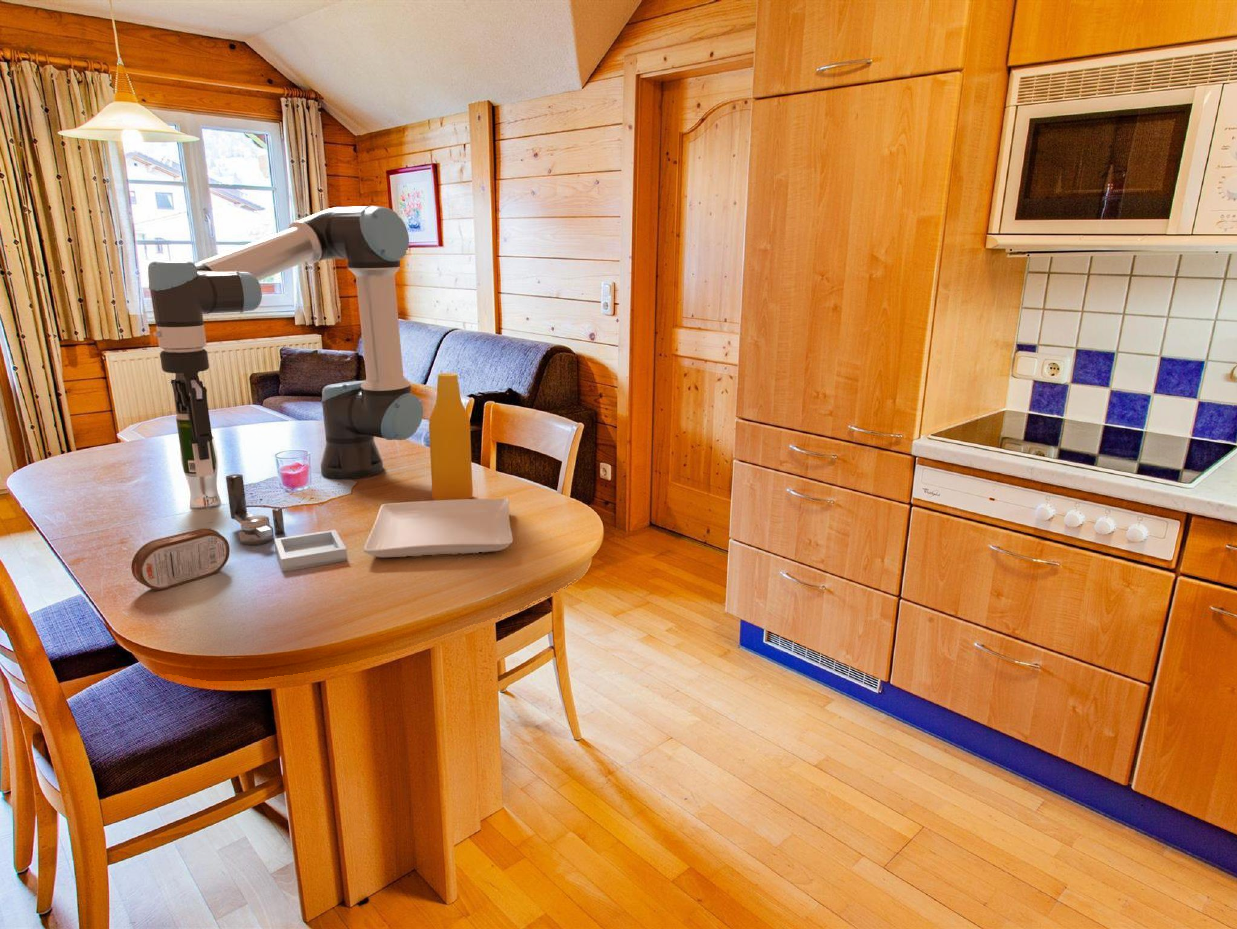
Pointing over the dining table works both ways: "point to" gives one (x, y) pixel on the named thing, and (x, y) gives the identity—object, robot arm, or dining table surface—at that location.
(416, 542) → the square plate
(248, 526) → the crank
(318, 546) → the tray
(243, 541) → the base
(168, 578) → the tin
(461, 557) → the dining table surface
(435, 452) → the beer bottle
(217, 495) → the beer glass
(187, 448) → the beer can
